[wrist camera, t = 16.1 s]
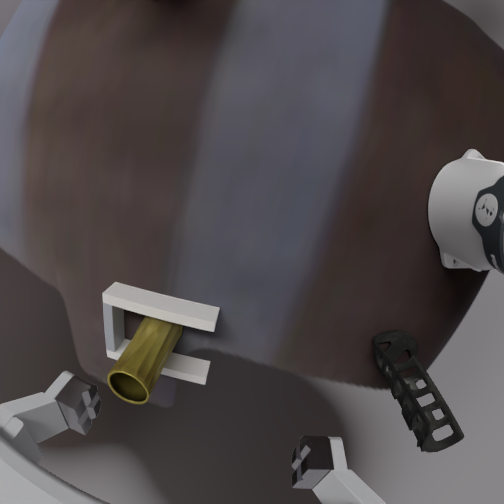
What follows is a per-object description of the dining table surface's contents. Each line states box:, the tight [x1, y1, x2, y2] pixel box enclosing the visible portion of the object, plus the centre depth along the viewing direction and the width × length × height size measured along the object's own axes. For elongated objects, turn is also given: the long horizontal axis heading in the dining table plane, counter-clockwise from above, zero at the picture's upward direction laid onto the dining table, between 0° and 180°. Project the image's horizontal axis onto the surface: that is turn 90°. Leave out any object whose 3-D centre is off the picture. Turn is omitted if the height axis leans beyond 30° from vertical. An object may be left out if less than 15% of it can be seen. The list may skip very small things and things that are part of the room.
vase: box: [108, 315, 183, 404], centre depth 32 cm, size 6×6×14 cm
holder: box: [373, 331, 464, 452], centre depth 30 cm, size 11×8×20 cm
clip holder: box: [103, 282, 220, 385], centre depth 37 cm, size 16×12×4 cm
